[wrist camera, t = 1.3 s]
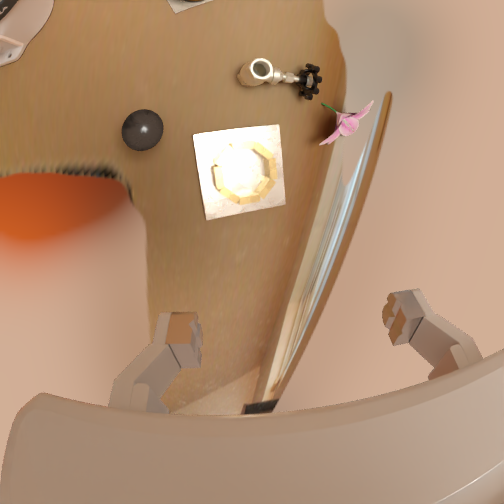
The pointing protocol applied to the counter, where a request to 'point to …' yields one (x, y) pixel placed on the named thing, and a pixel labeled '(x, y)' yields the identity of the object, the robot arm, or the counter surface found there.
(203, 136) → the flange
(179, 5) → the condiment
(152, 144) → the black-capped jar
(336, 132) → the lily
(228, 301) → the counter surface
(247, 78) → the valve
